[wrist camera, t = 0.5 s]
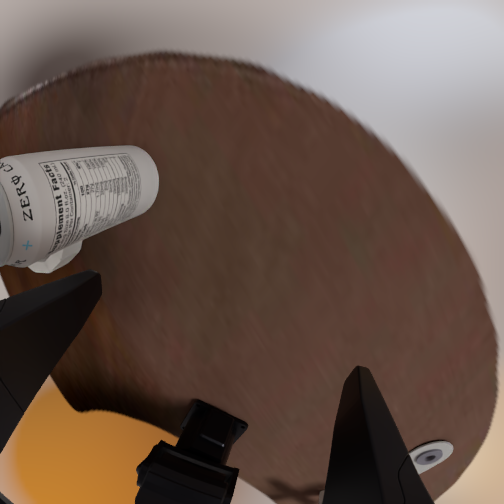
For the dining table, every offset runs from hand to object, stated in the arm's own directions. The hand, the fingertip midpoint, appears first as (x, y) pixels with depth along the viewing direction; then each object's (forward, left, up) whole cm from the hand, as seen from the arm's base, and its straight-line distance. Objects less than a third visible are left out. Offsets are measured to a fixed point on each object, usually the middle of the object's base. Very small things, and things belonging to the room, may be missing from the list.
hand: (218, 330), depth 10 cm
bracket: (-18, -30, -16) cm, 39 cm away
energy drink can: (-2, +13, -15) cm, 20 cm away
